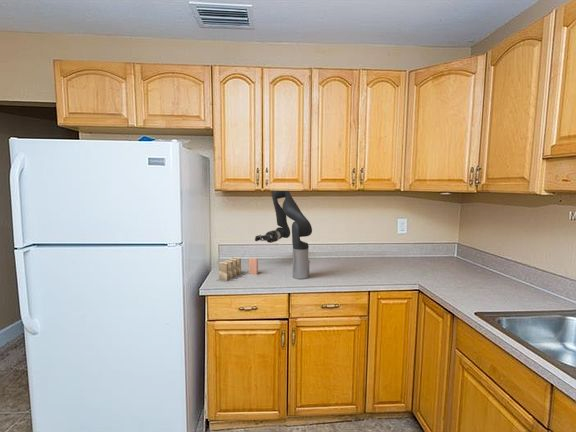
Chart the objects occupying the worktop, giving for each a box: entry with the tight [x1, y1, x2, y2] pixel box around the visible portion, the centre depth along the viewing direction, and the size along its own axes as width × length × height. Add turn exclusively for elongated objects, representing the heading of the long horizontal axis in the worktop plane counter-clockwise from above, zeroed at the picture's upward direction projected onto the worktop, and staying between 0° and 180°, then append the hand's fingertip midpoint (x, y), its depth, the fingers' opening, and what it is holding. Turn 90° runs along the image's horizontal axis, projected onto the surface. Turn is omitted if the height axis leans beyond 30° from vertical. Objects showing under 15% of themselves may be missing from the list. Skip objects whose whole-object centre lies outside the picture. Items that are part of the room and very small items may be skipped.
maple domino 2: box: [223, 260, 233, 279], centre depth 191 cm, size 2×5×10 cm, turn 67°
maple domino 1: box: [218, 261, 228, 281], centre depth 187 cm, size 2×5×10 cm, turn 67°
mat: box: [215, 270, 249, 283], centre depth 196 cm, size 23×8×1 cm, turn 157°
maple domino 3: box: [227, 258, 237, 277], centre depth 195 cm, size 2×5×10 cm, turn 67°
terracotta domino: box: [248, 257, 259, 276], centre depth 200 cm, size 2×5×10 cm, turn 67°
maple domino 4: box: [231, 256, 242, 275], centre depth 199 cm, size 2×5×10 cm, turn 67°
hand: (261, 240), depth 208 cm, fingers open, 8 cm apart
